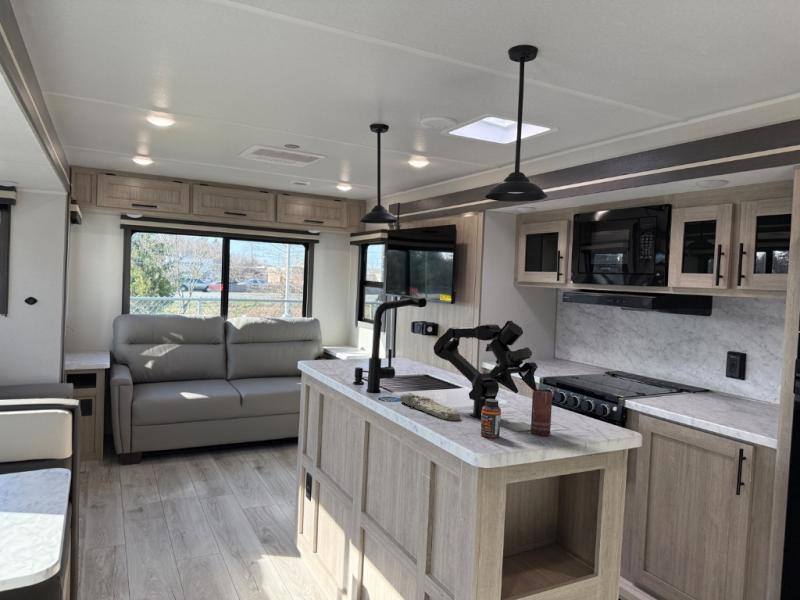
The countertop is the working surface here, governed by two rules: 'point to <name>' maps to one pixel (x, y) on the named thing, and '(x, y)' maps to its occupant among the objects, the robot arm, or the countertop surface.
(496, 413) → the supplement bottle
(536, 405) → the can
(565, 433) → the countertop surface
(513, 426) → the mat
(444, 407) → the elongated rock
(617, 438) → the countertop surface
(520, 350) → the robot arm
